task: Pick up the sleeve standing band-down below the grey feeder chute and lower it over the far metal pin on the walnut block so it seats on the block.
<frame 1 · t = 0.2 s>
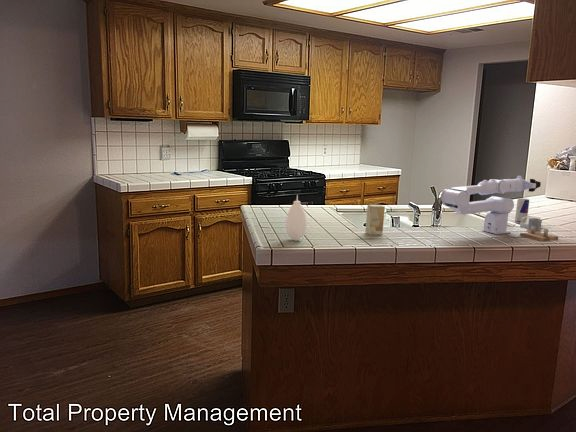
hand: (532, 183, 217), 21 cm above the worktop, tool horizontal, fingers open, 7 cm apart
energy drink: (520, 223, 236), on the worktop
skincare box: (374, 234, 200), on the worktop
sauce bottle: (295, 240, 184), on the worktop
feeder chute: (529, 227, 226), on the worktop
pin block: (538, 237, 203), on the worktop
sleeve: (533, 232, 214), on the worktop
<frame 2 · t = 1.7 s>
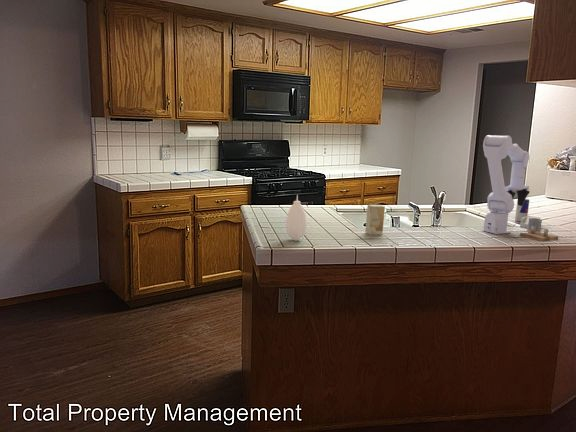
hand: (514, 206, 220), 10 cm above the worktop, tool pointing down, fingers open, 7 cm apart
nothing on the worktop moved.
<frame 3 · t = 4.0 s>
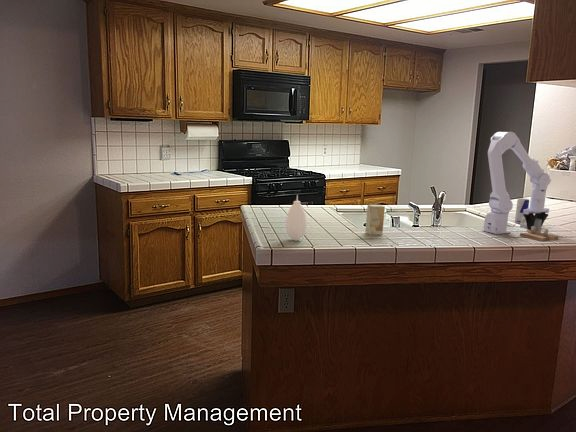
hand: (534, 229, 214), 1 cm above the worktop, tool pointing down, fingers closed on sleeve, 5 cm apart
sleeve: (533, 232, 214), on the worktop, touching gripper
everything else where it was.
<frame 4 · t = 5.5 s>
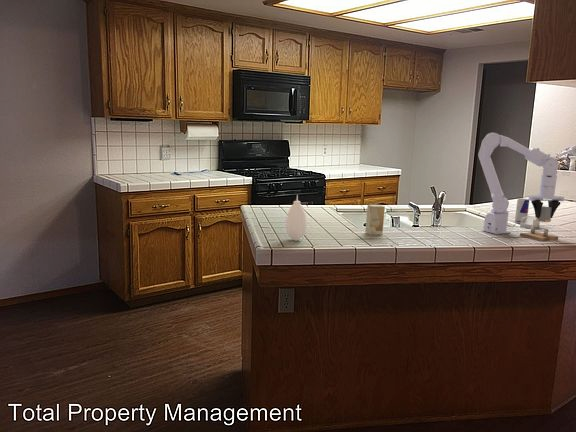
hand: (543, 217, 203), 8 cm above the worktop, tool pointing down, fingers closed on sleeve, 5 cm apart
sleeve: (543, 221, 204), point 7 cm above the worktop, touching gripper
everything else where it was.
when the fingers open (4 cm above the worktop, at t = 7.5 s): sleeve stays where it is, resting on pin block.
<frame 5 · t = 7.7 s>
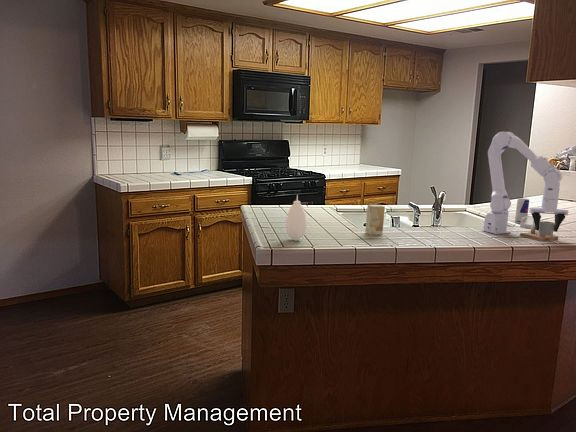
hand: (546, 230, 200), 4 cm above the worktop, tool pointing down, fingers open, 7 cm apart
sleeve: (545, 236, 200), point 1 cm above the worktop, touching pin block
everything else where it was.
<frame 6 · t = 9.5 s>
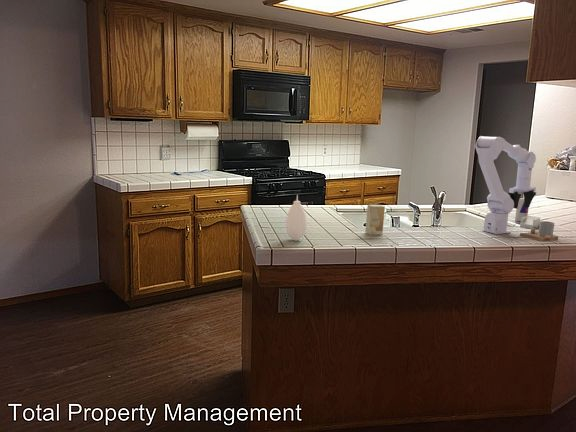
hand: (520, 207, 217), 10 cm above the worktop, tool pointing down, fingers open, 7 cm apart
nothing on the worktop moved.
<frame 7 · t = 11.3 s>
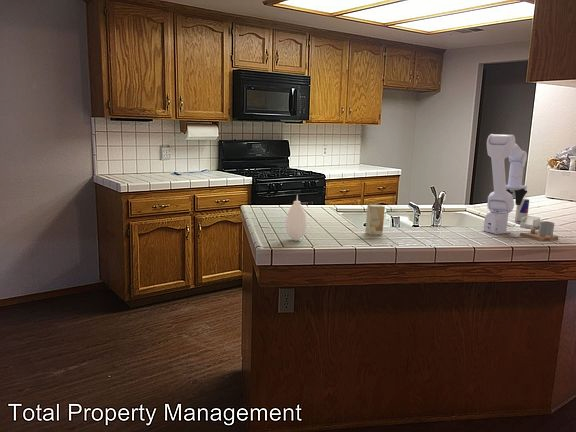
hand: (512, 205, 222), 10 cm above the worktop, tool pointing down, fingers open, 7 cm apart
nothing on the worktop moved.
at the end: sleeve 0.1 cm from the target spot on the pin block, point 1.2 cm above the pin block's base; the gripper is holding nothing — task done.
